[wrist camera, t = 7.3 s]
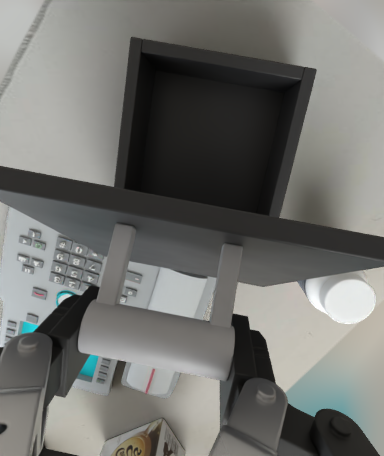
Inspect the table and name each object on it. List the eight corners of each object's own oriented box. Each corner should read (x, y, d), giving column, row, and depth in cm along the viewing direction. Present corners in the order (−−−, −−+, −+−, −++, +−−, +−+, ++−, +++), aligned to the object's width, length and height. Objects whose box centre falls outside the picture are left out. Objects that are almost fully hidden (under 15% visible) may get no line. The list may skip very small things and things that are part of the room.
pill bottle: (308, 294, 35) (338, 343, 26) (280, 258, 34) (302, 296, 25) (351, 267, 34) (397, 308, 25) (323, 229, 33) (361, 258, 24)
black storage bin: (149, 60, 30) (130, 36, 23) (294, 85, 30) (317, 68, 23) (127, 229, 34) (106, 250, 28) (254, 253, 34) (263, 280, 27)
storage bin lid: (-29, 159, 10) (-93, 333, 9) (401, 239, 10) (392, 430, 9) (106, 247, 27) (90, 311, 26) (265, 277, 27) (256, 343, 26)
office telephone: (222, 275, 32) (168, 425, 38) (221, 266, 35) (170, 407, 40) (0, 206, 32) (-24, 367, 37) (16, 201, 34) (-9, 353, 40)
